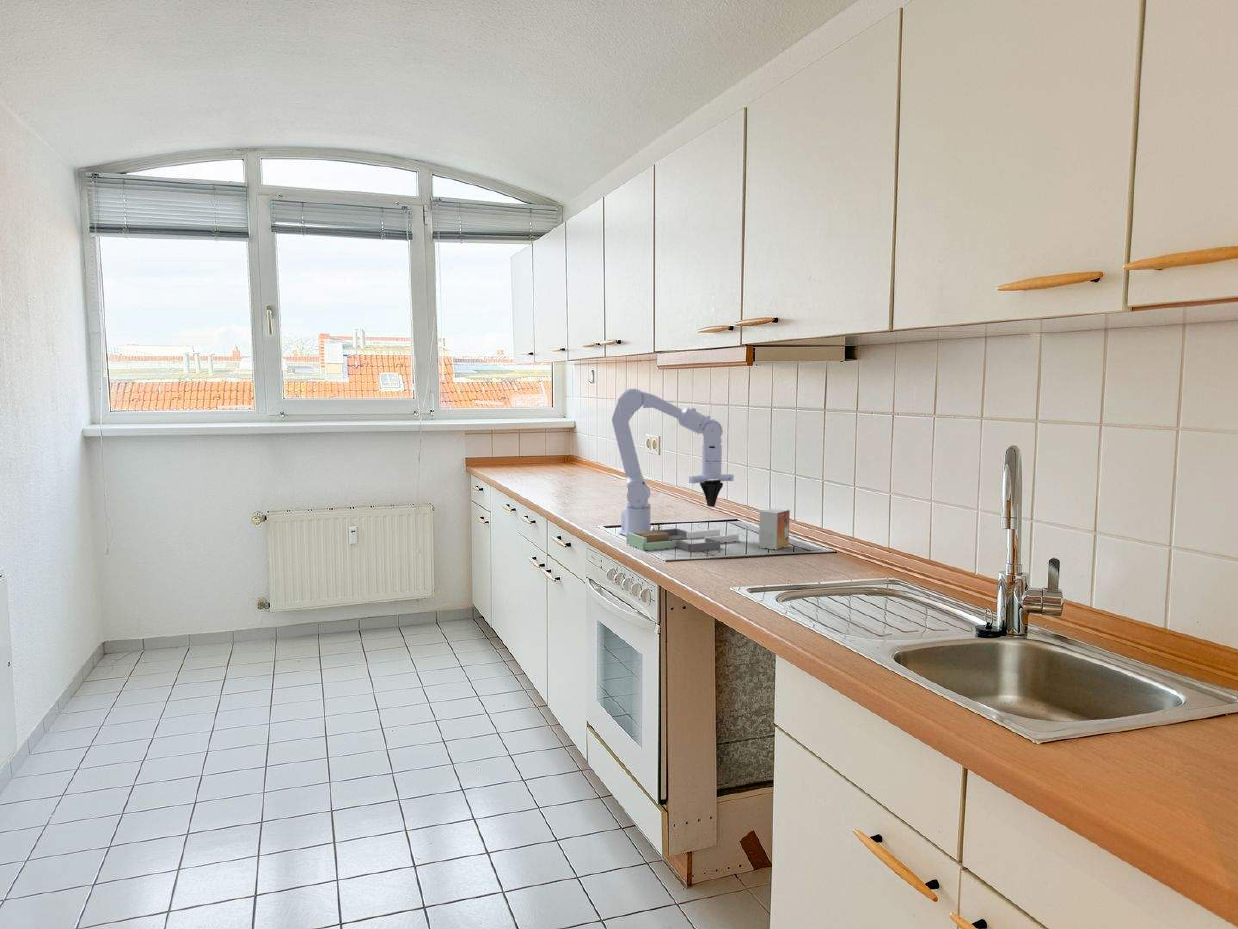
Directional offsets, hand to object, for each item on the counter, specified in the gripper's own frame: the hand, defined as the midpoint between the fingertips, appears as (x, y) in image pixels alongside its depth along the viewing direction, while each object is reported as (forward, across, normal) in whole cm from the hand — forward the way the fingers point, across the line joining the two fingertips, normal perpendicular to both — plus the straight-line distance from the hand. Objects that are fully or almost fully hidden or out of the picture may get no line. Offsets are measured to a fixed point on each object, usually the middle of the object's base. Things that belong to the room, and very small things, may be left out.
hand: (711, 506), depth 250 cm
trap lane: (+9, -12, -4) cm, 16 cm away
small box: (+10, +8, -20) cm, 24 cm away
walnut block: (+10, -22, -3) cm, 25 cm away
